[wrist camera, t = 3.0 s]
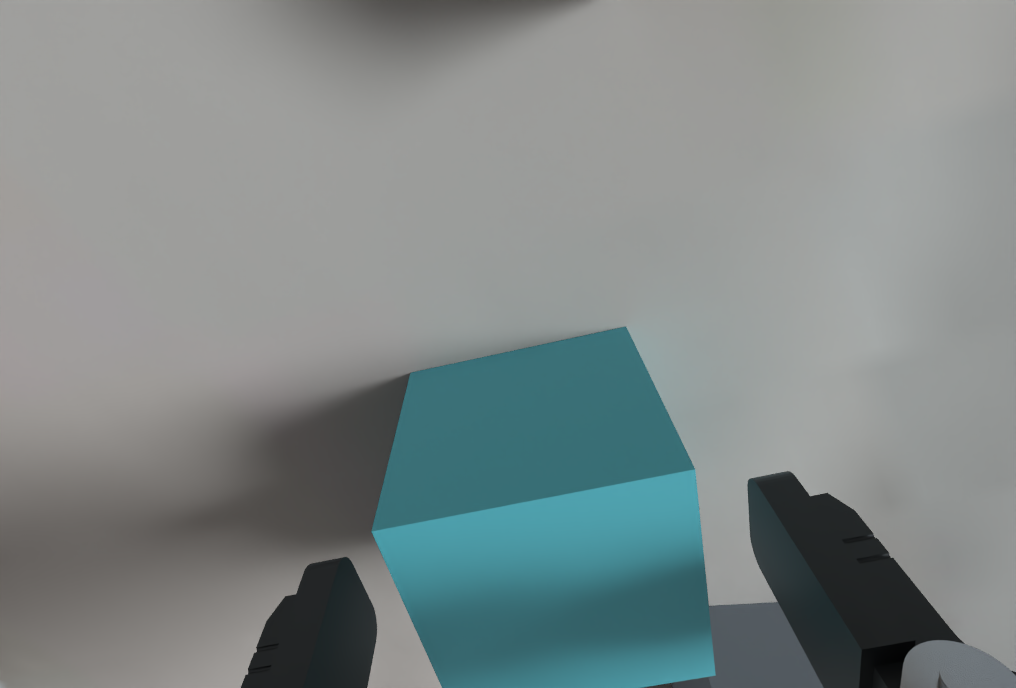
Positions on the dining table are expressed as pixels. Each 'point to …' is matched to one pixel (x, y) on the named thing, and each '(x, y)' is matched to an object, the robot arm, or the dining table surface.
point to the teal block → (547, 522)
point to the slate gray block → (755, 650)
